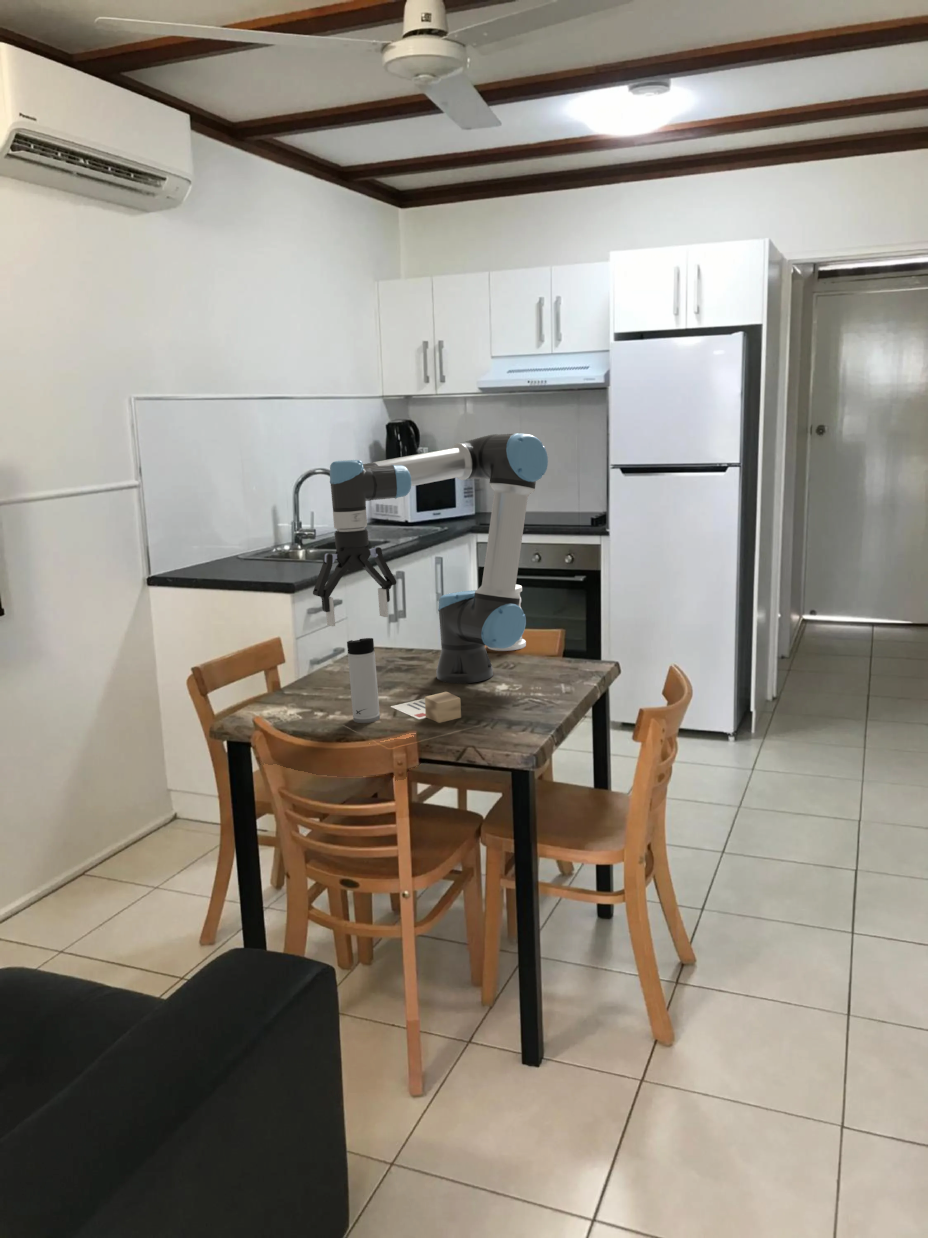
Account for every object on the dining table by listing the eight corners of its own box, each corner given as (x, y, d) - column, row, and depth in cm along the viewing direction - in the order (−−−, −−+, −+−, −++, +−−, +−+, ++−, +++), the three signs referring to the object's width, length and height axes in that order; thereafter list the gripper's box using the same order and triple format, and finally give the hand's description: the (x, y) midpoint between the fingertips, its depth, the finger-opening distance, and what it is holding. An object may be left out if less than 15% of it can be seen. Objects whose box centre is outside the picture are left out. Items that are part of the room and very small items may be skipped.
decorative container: (491, 652, 294) (488, 592, 290) (484, 643, 305) (481, 585, 301) (529, 648, 295) (527, 588, 292) (521, 640, 307) (518, 582, 303)
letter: (390, 707, 245) (390, 706, 245) (425, 699, 250) (425, 698, 250) (419, 720, 233) (419, 719, 233) (455, 711, 238) (455, 710, 238)
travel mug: (359, 726, 232) (352, 642, 227) (349, 719, 237) (342, 637, 233) (384, 721, 234) (378, 638, 230) (373, 714, 240) (367, 633, 236)
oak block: (425, 716, 235) (424, 696, 233) (447, 711, 238) (446, 691, 236) (439, 724, 230) (438, 703, 228) (461, 718, 233) (460, 698, 231)
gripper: (307, 536, 217) (315, 631, 221) (406, 524, 230) (412, 614, 234) (293, 534, 223) (301, 626, 227) (391, 522, 236) (397, 610, 240)
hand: (358, 620), depth 231 cm, fingers open, 13 cm apart
